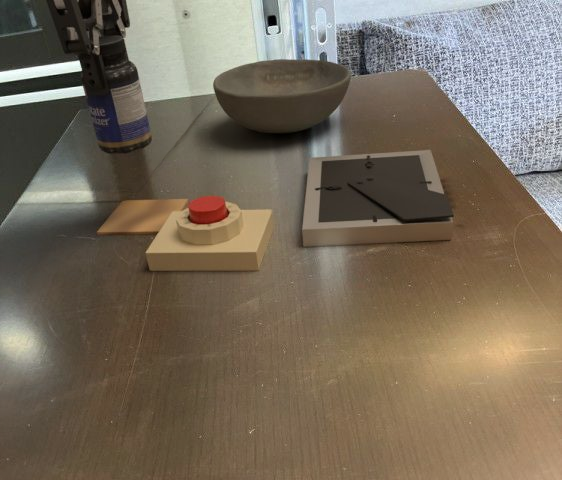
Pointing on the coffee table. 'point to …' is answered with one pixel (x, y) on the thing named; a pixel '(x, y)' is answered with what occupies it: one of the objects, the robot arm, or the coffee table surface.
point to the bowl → (282, 93)
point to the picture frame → (375, 200)
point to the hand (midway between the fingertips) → (111, 84)
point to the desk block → (212, 242)
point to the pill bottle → (119, 102)
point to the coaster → (140, 216)
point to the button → (207, 210)
